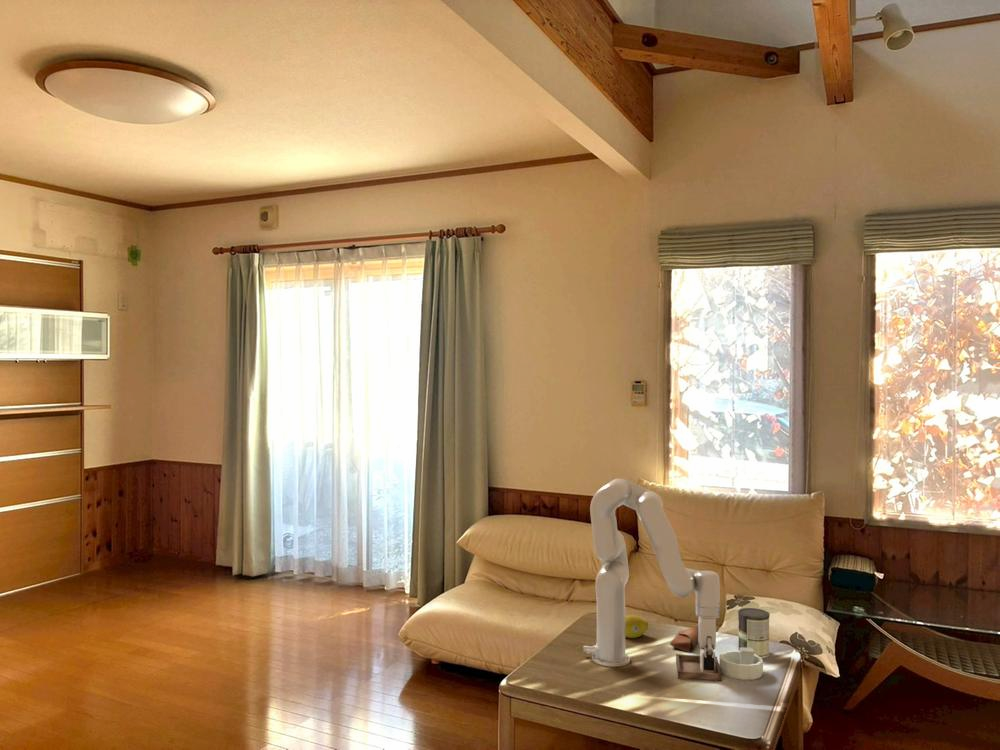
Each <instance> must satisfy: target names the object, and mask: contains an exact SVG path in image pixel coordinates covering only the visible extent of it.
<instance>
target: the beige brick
mask: <svg viewBox="0 0 1000 750" xmlns="http://www.w3.org/2000/svg"><path fill="white" fill-rule="evenodd" d="M707 651H708V650H706V652H707ZM699 656H700V669H701V670H702V672H715V657H716V652H714V671H711V670H704V657H705V654H704V649H701V648H699Z"/></svg>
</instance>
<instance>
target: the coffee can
mask: <svg viewBox="0 0 1000 750" xmlns="http://www.w3.org/2000/svg"><path fill="white" fill-rule="evenodd" d="M737 614H738V618H737V619H738V622H737V623H738V624H737V625H738V649H737V651H740V647H744V648H753V650H754V654H755V655H757V656H759V657H761V658H762V659H766V658H768V657H770V612H768V611H766V610H765V609H760V608H755V607H754V608H753V607H752V608H751V607H745V608H740V609H739V610H738V611H737Z"/></svg>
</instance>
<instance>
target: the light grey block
mask: <svg viewBox="0 0 1000 750" xmlns="http://www.w3.org/2000/svg"><path fill="white" fill-rule="evenodd" d="M740 664H746V665H749V664H754V650H753V648H744V647H740Z"/></svg>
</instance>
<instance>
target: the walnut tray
mask: <svg viewBox="0 0 1000 750" xmlns="http://www.w3.org/2000/svg"><path fill="white" fill-rule="evenodd" d="M675 664H676V672H677V679H680V680H681V679H682V680H692V681H694V680H695V681H708V682H719V683H720V682H723V679H722V678H723V677H722V675H723V674H722V673H721V670H720V666H719V660H718V656H715V672H702V670H701V669H700V655H699V654H698V655H696V654H680V653H675Z"/></svg>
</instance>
